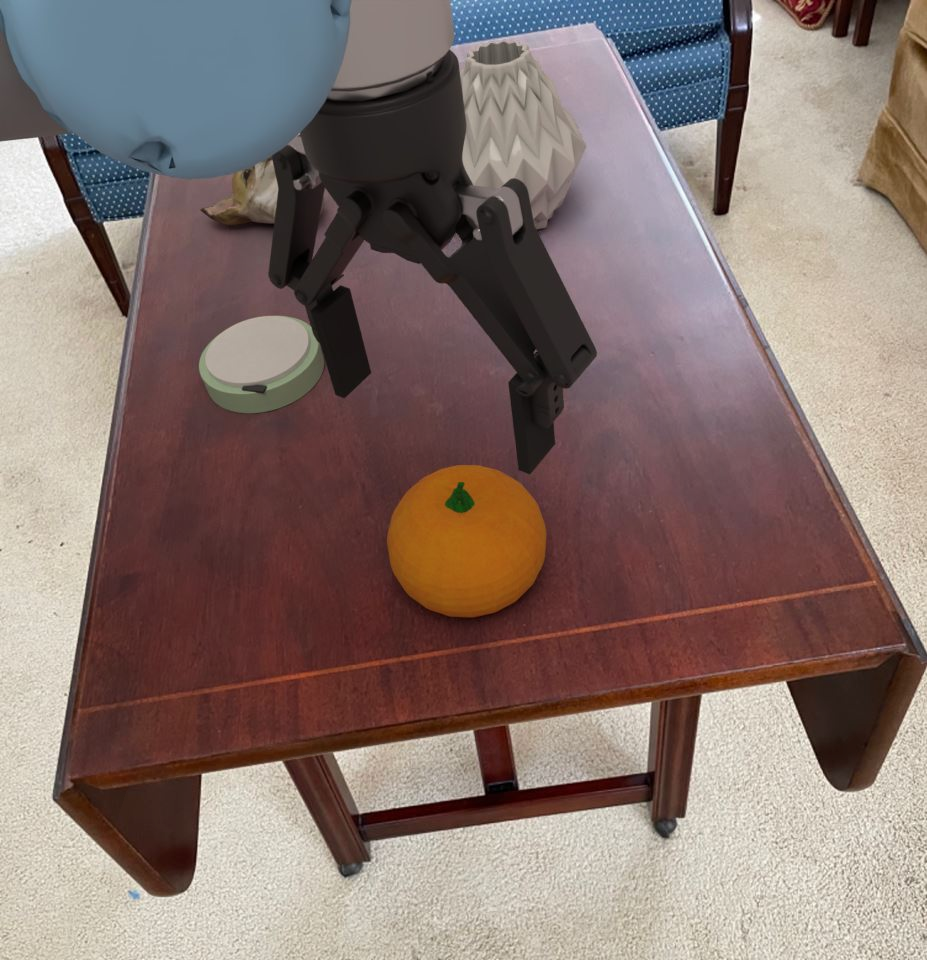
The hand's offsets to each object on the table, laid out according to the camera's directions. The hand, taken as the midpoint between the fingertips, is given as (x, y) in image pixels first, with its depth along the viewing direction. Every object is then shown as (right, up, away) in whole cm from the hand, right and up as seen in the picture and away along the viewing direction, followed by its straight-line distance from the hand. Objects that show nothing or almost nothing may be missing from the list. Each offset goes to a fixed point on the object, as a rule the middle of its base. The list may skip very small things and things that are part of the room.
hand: (440, 418), depth 56 cm
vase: (+7, +25, +49) cm, 55 cm away
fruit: (+2, -11, +16) cm, 19 cm away
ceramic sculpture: (-21, +27, +55) cm, 65 cm away
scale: (-18, +7, +35) cm, 40 cm away
